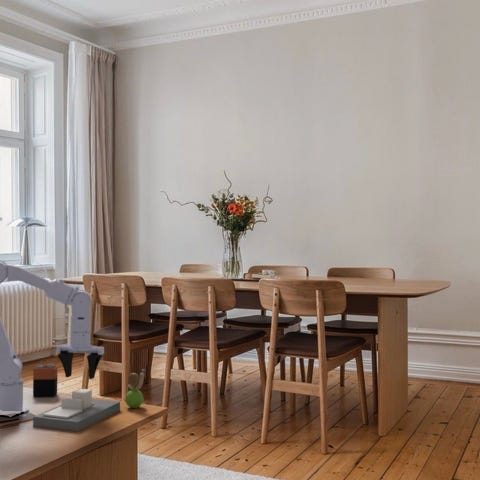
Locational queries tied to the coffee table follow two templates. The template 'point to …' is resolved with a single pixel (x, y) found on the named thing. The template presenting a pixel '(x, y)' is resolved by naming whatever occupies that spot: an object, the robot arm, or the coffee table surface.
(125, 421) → the coffee table surface
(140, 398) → the snail figurine
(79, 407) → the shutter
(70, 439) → the coffee table surface
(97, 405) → the socket plate
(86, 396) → the plug
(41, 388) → the battery
